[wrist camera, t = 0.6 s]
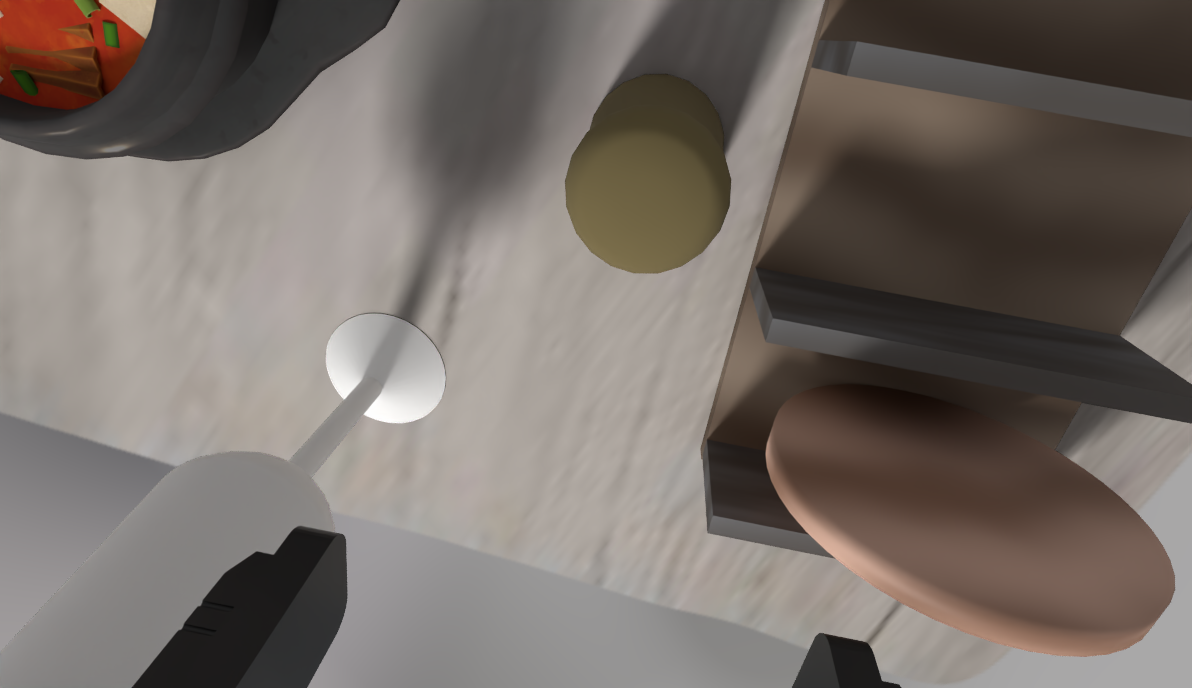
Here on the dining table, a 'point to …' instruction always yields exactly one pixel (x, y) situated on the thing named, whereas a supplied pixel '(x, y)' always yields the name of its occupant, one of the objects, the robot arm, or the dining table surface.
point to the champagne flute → (214, 523)
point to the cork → (650, 176)
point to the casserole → (165, 70)
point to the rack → (963, 311)
